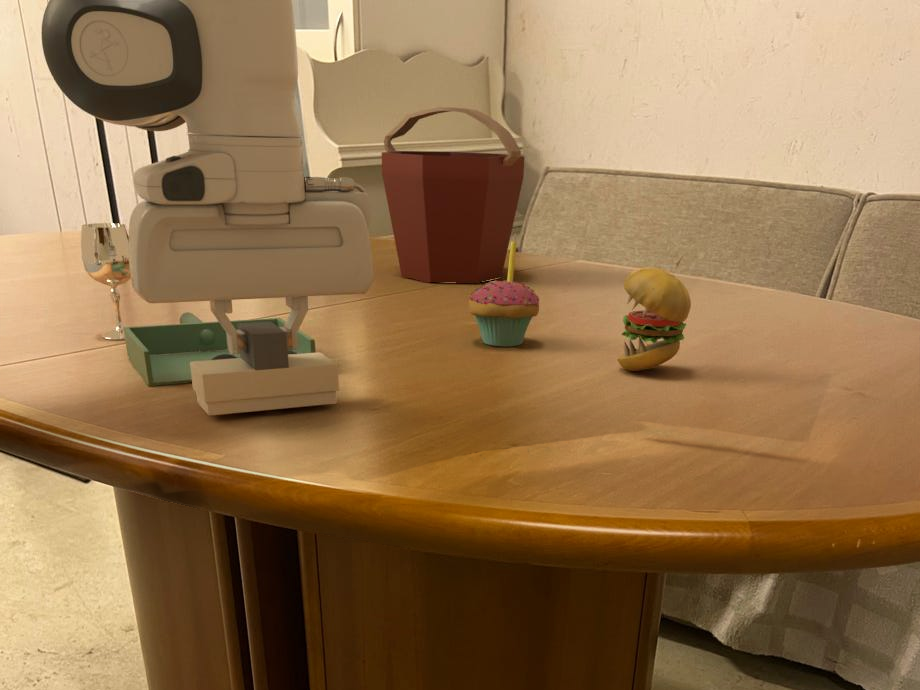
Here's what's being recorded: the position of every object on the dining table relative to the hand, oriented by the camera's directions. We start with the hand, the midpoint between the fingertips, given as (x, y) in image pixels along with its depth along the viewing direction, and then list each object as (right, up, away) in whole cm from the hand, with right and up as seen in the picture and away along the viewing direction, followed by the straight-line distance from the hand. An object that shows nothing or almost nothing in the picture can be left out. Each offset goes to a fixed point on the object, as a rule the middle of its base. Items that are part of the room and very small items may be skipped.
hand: (262, 351), depth 82 cm
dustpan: (-11, +6, +20) cm, 24 cm away
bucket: (+15, +37, +77) cm, 86 cm away
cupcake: (+22, +10, +30) cm, 39 cm away
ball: (-4, -1, +5) cm, 6 cm away
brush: (0, -4, +2) cm, 5 cm away
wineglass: (-23, +10, +28) cm, 38 cm away
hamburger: (+38, +4, +20) cm, 43 cm away
